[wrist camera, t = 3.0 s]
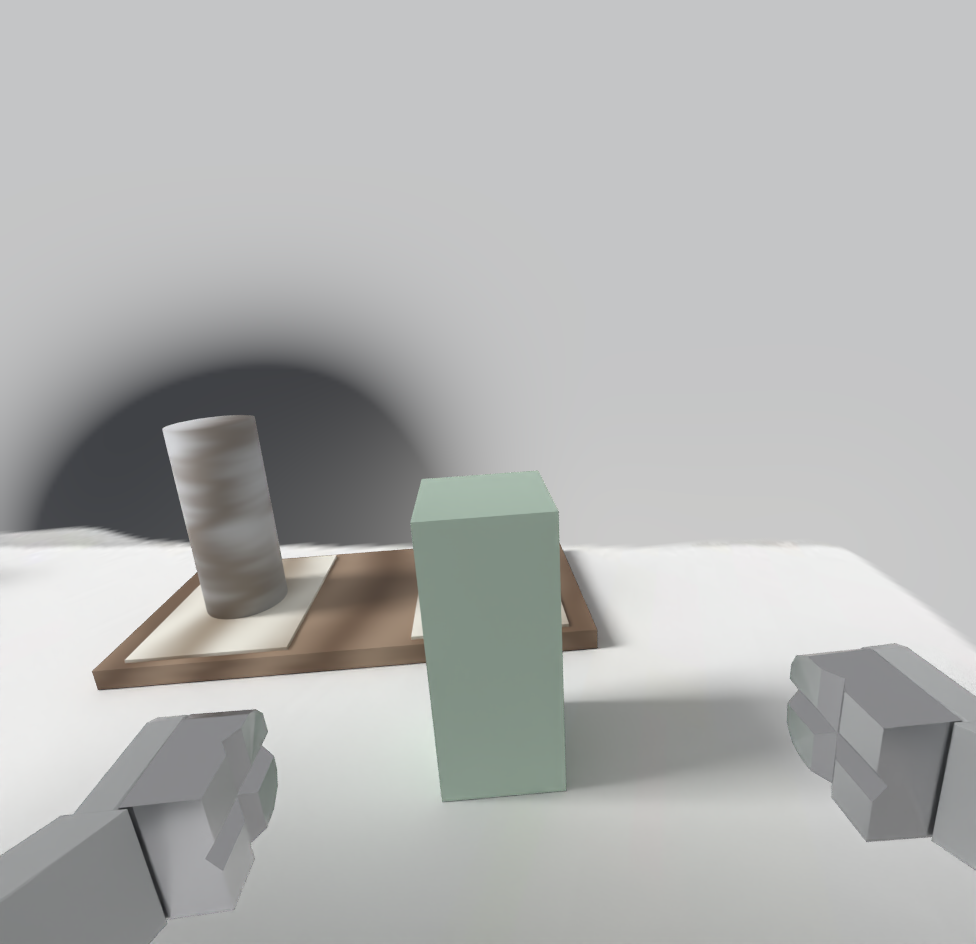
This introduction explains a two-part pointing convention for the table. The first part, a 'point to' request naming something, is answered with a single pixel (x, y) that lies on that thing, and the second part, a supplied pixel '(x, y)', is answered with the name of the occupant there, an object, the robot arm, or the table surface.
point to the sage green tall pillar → (492, 632)
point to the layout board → (330, 627)
